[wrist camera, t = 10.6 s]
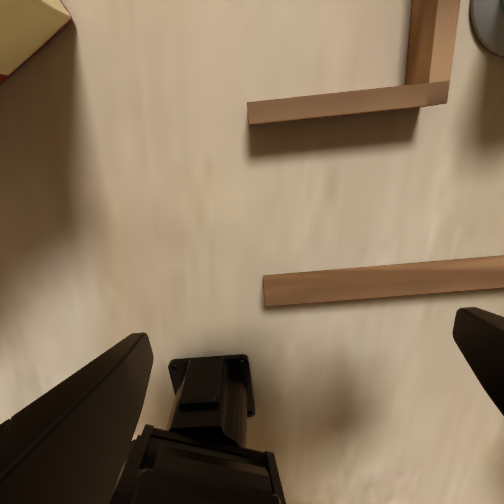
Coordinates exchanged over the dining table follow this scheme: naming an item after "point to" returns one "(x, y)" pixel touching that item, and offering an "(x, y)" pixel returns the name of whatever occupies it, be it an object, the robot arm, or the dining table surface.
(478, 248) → the dining table surface
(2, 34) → the gift box
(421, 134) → the dining table surface
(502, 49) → the pad
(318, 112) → the channel
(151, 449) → the robot arm
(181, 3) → the dining table surface
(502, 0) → the peg
